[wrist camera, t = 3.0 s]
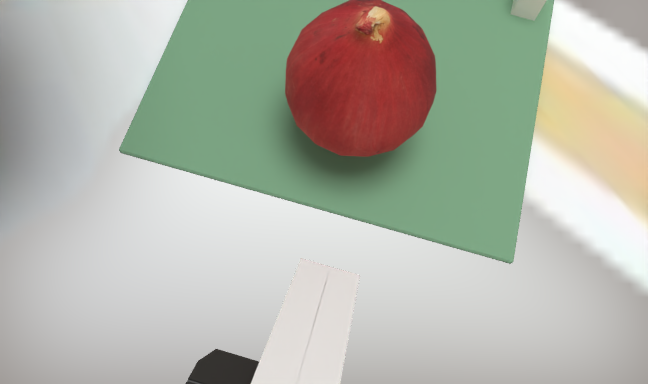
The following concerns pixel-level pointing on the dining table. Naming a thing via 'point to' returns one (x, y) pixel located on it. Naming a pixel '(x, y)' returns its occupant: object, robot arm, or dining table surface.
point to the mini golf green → (527, 8)
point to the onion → (361, 78)
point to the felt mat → (354, 171)
